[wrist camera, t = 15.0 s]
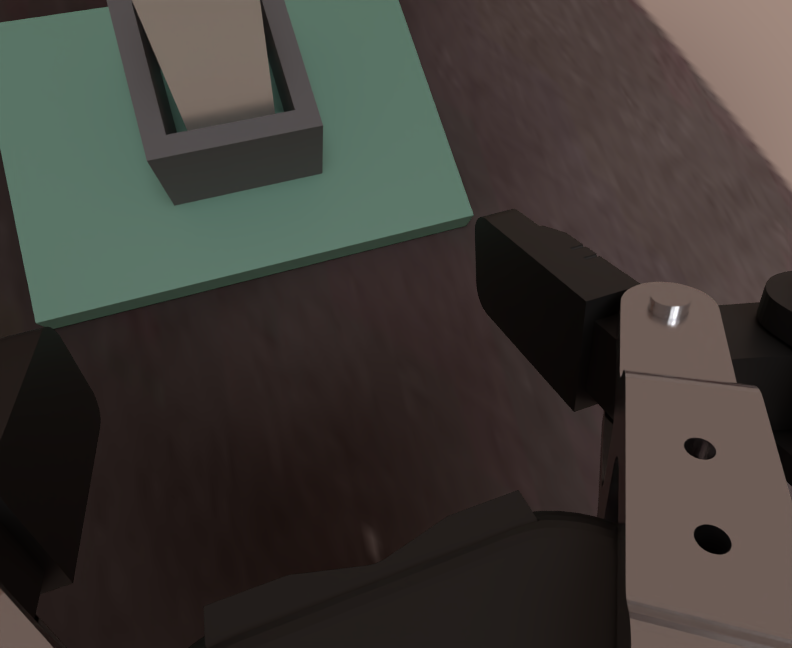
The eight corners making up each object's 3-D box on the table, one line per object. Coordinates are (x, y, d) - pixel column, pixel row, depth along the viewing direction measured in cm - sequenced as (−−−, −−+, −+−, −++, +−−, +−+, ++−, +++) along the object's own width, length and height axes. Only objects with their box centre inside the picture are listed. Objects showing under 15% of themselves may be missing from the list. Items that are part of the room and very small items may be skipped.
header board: (466, 225, 31) (500, 175, 25) (51, 329, 26) (-24, 298, 21) (383, -14, 33) (397, -109, 27) (-8, 47, 29) (-90, -52, 23)
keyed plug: (280, 150, 28) (256, -23, 18) (202, 167, 28) (130, -4, 17) (255, 67, 29) (218, -146, 19) (179, 81, 28) (95, -133, 18)
